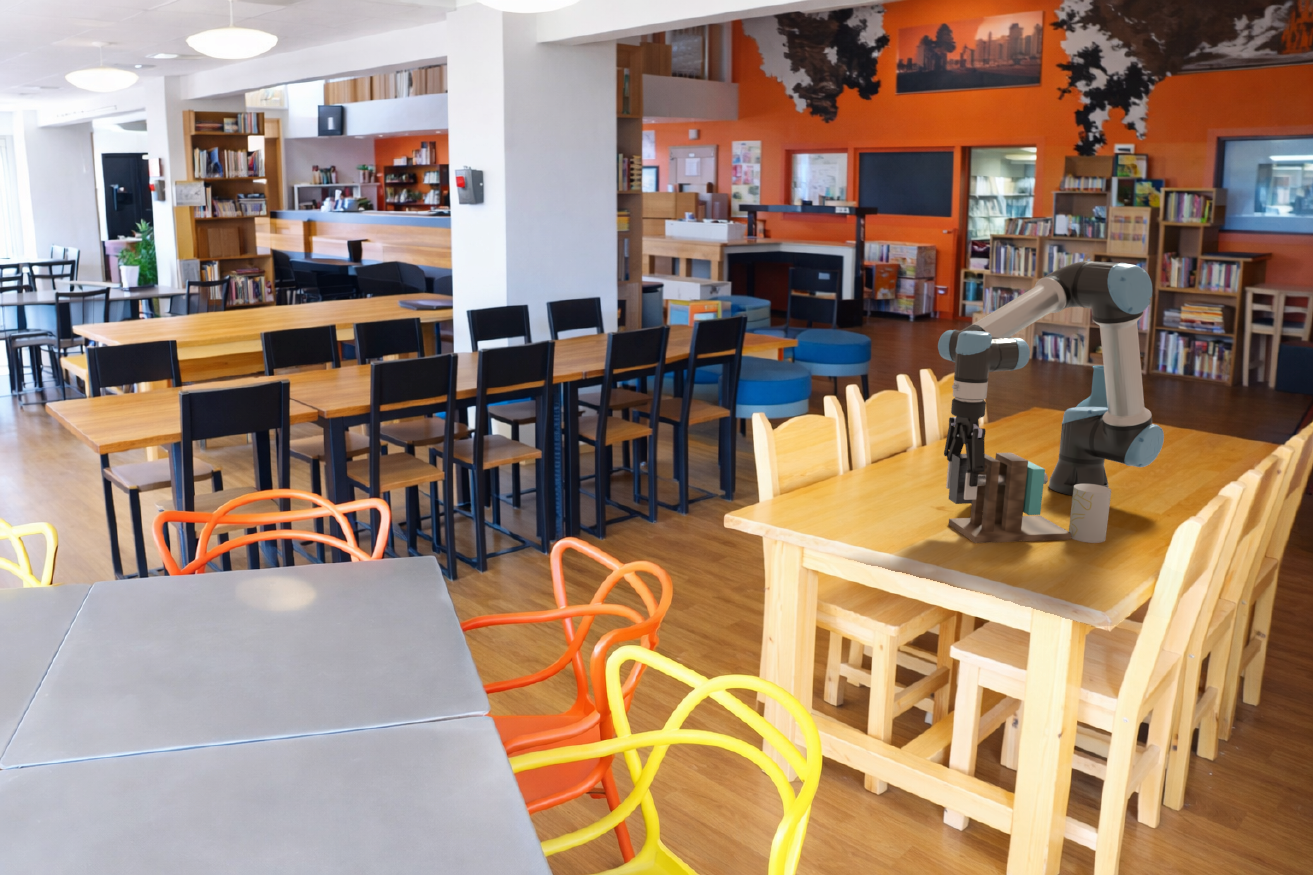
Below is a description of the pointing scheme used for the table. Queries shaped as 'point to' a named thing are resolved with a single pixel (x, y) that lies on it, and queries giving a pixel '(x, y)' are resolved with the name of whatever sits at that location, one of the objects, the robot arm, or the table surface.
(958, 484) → the shaft
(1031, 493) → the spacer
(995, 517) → the stand
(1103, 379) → the vase
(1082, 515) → the cup
